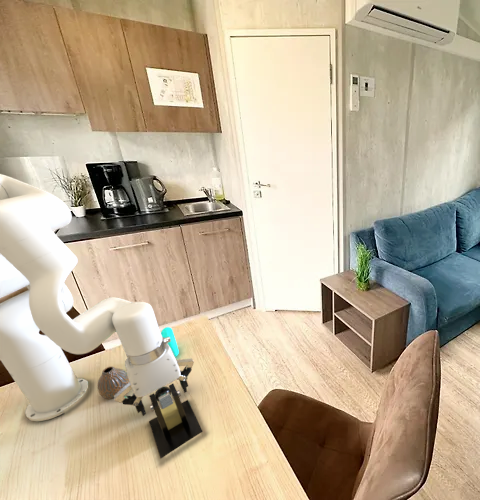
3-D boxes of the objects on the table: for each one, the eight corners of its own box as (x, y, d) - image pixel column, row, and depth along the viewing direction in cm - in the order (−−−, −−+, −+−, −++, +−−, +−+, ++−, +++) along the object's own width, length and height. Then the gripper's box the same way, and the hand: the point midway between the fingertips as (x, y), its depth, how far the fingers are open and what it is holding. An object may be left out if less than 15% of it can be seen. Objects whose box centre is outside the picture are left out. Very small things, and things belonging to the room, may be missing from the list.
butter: (161, 417, 72) (158, 410, 71) (178, 407, 75) (175, 400, 74) (166, 431, 69) (163, 424, 68) (184, 420, 71) (181, 413, 70)
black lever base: (150, 424, 72) (135, 390, 67) (188, 402, 77) (177, 369, 72) (162, 462, 64) (146, 426, 59) (203, 434, 69) (192, 400, 64)
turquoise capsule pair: (142, 356, 92) (132, 332, 88) (176, 343, 98) (169, 320, 94) (144, 376, 85) (134, 351, 81) (181, 361, 91) (174, 336, 87)
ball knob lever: (157, 403, 74) (152, 390, 74) (172, 395, 77) (167, 382, 77) (160, 413, 64) (154, 398, 64) (177, 404, 66) (172, 389, 66)
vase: (117, 405, 76) (105, 382, 73) (96, 401, 78) (84, 377, 74) (139, 384, 83) (130, 362, 79) (119, 380, 84) (109, 358, 80)
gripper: (181, 327, 76) (195, 373, 83) (98, 360, 65) (122, 410, 72) (190, 341, 71) (203, 389, 78) (102, 380, 60) (127, 432, 67)
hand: (164, 399), depth 75 cm, fingers open, 9 cm apart
